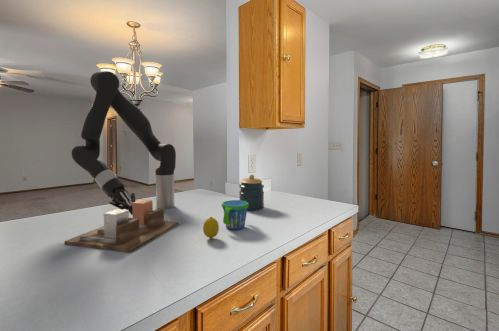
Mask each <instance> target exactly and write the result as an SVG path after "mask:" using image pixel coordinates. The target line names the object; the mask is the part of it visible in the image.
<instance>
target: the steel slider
mask: <svg viewBox="0 0 499 331" xmlns="http://www.w3.org/2000/svg"><path fill="white" fill-rule="evenodd" d="M129 213H130V212H129V210H126V209H123V210H122V209H120V208H116V209H112V210H110V211H107V212H104V213H103V226H104V235H105V238H108V239H116V226H117V225H120V224H122V223H125V222H127V221H129V217H130V215H129Z"/></svg>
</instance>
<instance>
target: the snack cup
mask: <svg viewBox="0 0 499 331" xmlns="http://www.w3.org/2000/svg"><path fill="white" fill-rule="evenodd" d="M248 206H249V203H248V202H246V201H241V200H239V199H238V200H237V199H235V200H234V199H231V200H225V201H223V202H222V203H221V207H222V210H223V219H222V222H223V224H224V225H225V227H226V228H227V229H228V230H233V231H235V230H236V231H237V230H242V229H243V228H245V226H246V218H247V213H248V211H247V208H248Z"/></svg>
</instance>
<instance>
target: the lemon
mask: <svg viewBox="0 0 499 331" xmlns="http://www.w3.org/2000/svg"><path fill="white" fill-rule="evenodd" d="M219 226H220V224H219V222H218V220H217V219H216V218H214V217H212V216H210V217H209V218H206V219H205V221H204V223H203V226H202V230H203V234H204V235H205V237H207V238H209V239H210V240H211V239H213V238H215V237H216V236H217V235H218V233H219V230H220V227H219Z"/></svg>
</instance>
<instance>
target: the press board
mask: <svg viewBox="0 0 499 331" xmlns="http://www.w3.org/2000/svg"><path fill="white" fill-rule="evenodd" d="M146 224H147V225H139V219H133V216H129V221H127V222H125V223H122V224H120V225H117V226H116V239H108V238H105V235H104V225H102V226H100V227H98V228H95V229H92V230H90V231H87V232H84V233H82V234H80V235H77V236H74V237H72V238H69V239H65V241H64V245H71V246H78V247H85V248H92V249H101V250H110V251H117V252H123V253H124V252H126V253H133V252H134V251H136V250H138V249H140V248H142V247H143V246H145V245H147V244H148V243H150V242H151V241H153V240H155V239H157V238H159V237H160V236H162V235H164V234H165V233H167V232H168V231H171V230H172V229H173V228H175V227H178V226H179V225H180V221H173V220H165V208H156V209H153V211H151V212H149V213H146Z"/></svg>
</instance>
